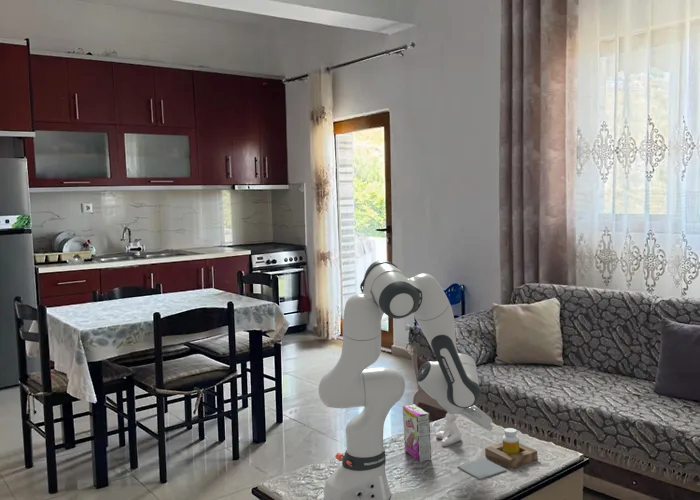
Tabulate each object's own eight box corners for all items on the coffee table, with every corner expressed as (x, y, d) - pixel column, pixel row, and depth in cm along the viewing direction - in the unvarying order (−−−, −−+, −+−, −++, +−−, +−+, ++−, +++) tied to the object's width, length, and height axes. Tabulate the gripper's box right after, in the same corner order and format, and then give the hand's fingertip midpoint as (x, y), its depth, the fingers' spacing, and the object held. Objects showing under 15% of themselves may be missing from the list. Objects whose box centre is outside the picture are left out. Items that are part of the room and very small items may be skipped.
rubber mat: (479, 480, 207) (479, 478, 207) (457, 467, 217) (457, 466, 217) (506, 471, 212) (506, 469, 212) (483, 459, 222) (483, 458, 222)
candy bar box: (403, 451, 232) (401, 405, 230) (416, 448, 234) (414, 403, 232) (418, 463, 222) (416, 415, 220) (432, 460, 224) (430, 413, 222)
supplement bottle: (519, 461, 219) (519, 433, 218) (503, 461, 220) (502, 432, 219) (519, 455, 224) (518, 427, 223) (502, 454, 225) (501, 426, 224)
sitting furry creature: (434, 437, 243) (433, 405, 242) (457, 434, 245) (455, 403, 244) (442, 447, 234) (441, 414, 233) (465, 444, 236) (464, 411, 234)
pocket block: (510, 468, 214) (509, 459, 214) (485, 456, 224) (485, 447, 224) (537, 459, 220) (537, 450, 219) (512, 448, 230) (511, 439, 230)
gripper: (479, 401, 202) (506, 426, 207) (444, 383, 221) (470, 406, 226) (467, 418, 201) (495, 442, 206) (433, 398, 220) (459, 421, 224)
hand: (482, 423), depth 216 cm, fingers open, 8 cm apart
